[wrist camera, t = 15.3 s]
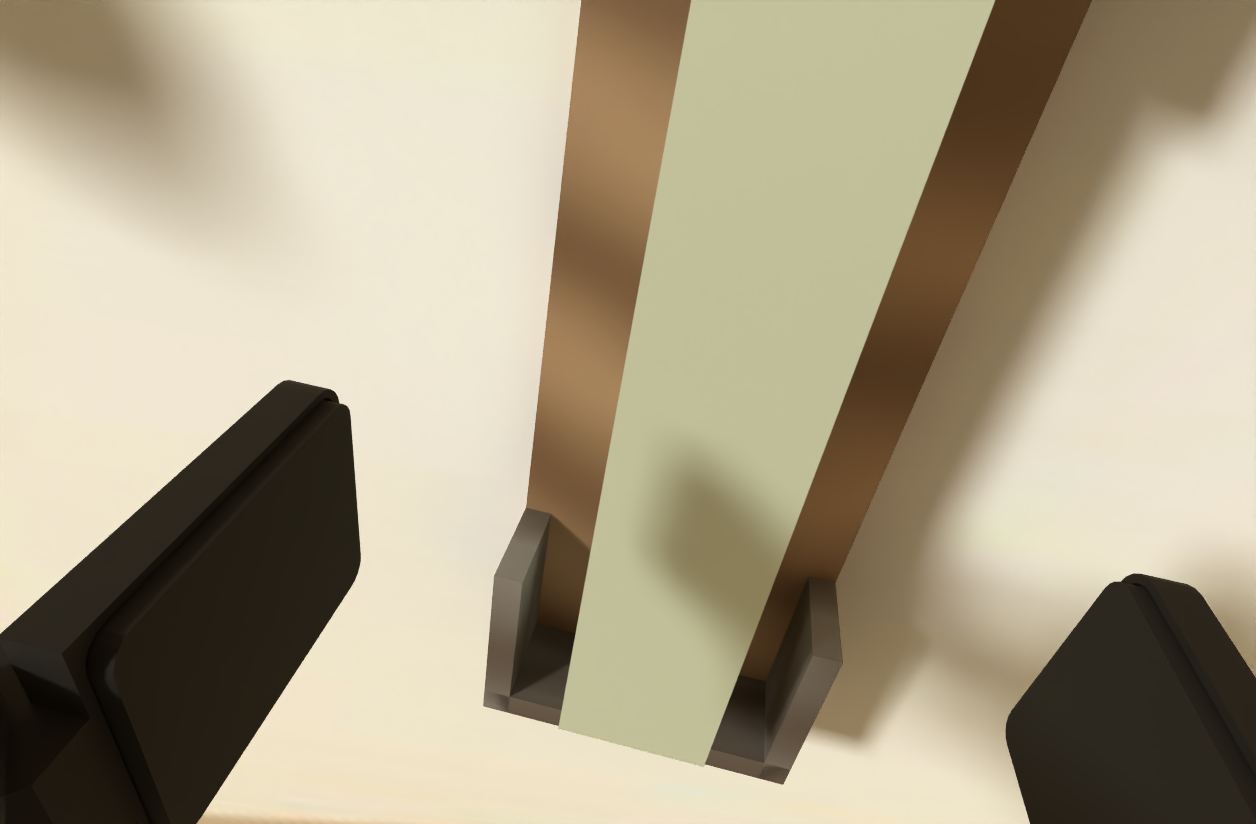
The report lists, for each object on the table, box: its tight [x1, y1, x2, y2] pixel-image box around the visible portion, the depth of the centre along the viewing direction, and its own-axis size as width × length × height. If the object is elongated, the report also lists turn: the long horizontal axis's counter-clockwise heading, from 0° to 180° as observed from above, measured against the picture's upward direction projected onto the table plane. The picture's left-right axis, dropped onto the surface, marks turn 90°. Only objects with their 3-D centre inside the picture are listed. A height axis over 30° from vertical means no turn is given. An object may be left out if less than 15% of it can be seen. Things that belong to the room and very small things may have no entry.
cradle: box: [483, 0, 1092, 784], centre depth 17 cm, size 28×10×4 cm, turn 171°
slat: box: [558, 0, 995, 767], centre depth 16 cm, size 22×4×5 cm, turn 171°
